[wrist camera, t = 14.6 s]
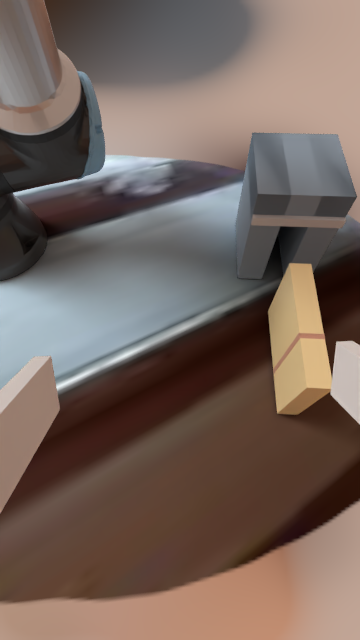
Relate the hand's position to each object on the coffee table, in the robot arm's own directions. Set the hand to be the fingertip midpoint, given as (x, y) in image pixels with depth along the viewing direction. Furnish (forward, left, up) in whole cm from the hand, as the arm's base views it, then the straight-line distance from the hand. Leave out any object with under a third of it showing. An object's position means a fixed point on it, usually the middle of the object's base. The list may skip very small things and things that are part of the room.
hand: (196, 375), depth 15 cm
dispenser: (-21, +26, -27) cm, 43 cm away
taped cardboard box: (-5, +17, -26) cm, 31 cm away
